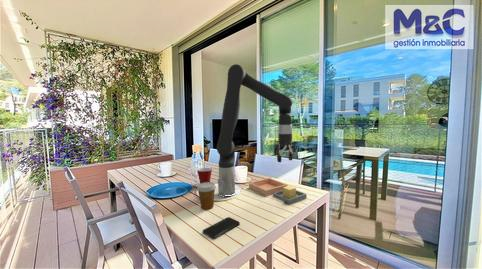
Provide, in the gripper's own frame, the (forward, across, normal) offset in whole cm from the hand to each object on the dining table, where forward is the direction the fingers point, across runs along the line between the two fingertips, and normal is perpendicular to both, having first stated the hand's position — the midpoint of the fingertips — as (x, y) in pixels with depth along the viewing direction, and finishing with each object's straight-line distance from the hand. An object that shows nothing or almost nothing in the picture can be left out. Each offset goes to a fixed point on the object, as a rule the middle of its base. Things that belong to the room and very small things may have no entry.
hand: (285, 161), depth 116 cm
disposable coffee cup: (+21, +43, -13) cm, 49 cm away
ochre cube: (+20, 0, +3) cm, 20 cm away
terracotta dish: (+21, +2, -13) cm, 25 cm away
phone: (+21, +45, +9) cm, 51 cm away
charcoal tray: (+20, 0, +3) cm, 21 cm away
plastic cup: (+21, +31, -44) cm, 58 cm away
